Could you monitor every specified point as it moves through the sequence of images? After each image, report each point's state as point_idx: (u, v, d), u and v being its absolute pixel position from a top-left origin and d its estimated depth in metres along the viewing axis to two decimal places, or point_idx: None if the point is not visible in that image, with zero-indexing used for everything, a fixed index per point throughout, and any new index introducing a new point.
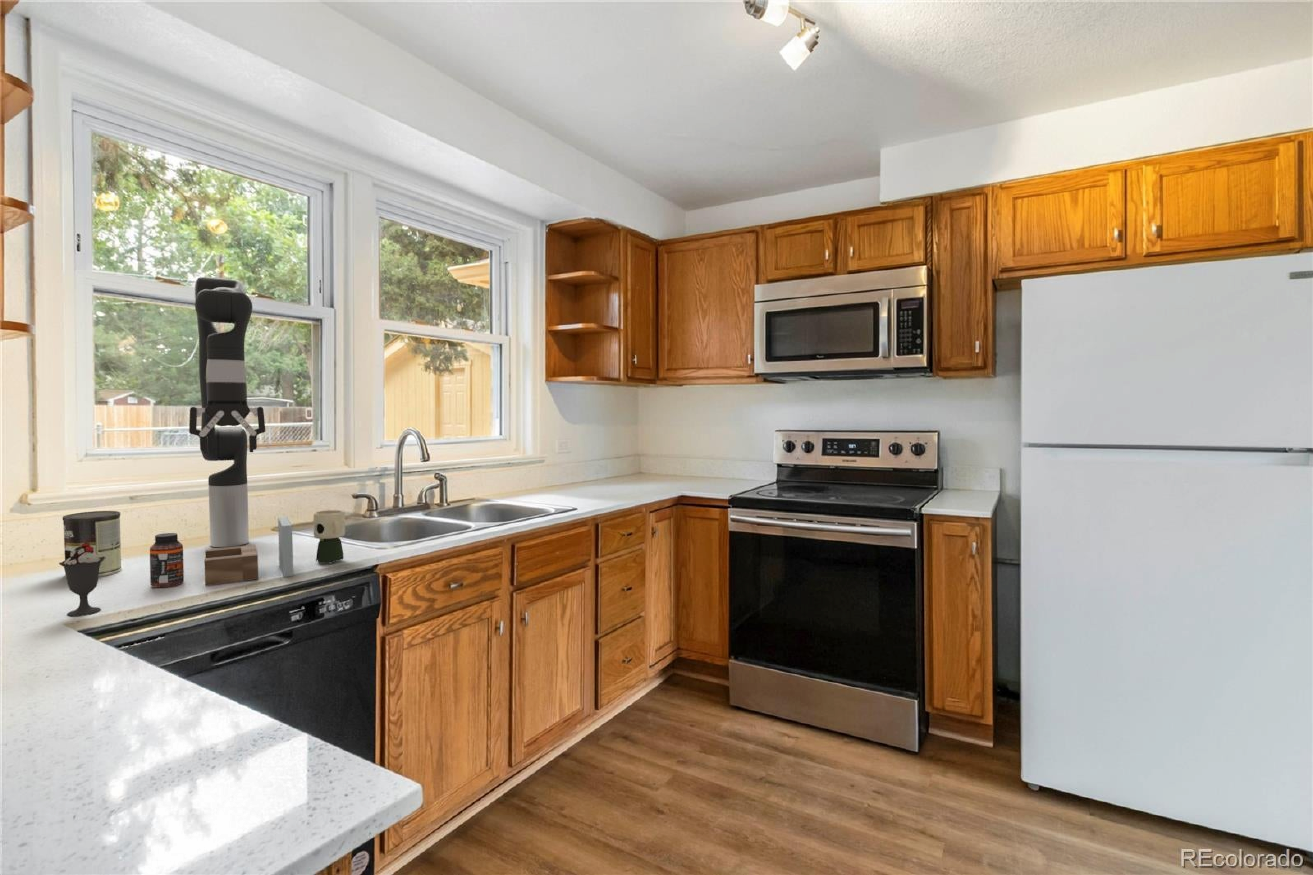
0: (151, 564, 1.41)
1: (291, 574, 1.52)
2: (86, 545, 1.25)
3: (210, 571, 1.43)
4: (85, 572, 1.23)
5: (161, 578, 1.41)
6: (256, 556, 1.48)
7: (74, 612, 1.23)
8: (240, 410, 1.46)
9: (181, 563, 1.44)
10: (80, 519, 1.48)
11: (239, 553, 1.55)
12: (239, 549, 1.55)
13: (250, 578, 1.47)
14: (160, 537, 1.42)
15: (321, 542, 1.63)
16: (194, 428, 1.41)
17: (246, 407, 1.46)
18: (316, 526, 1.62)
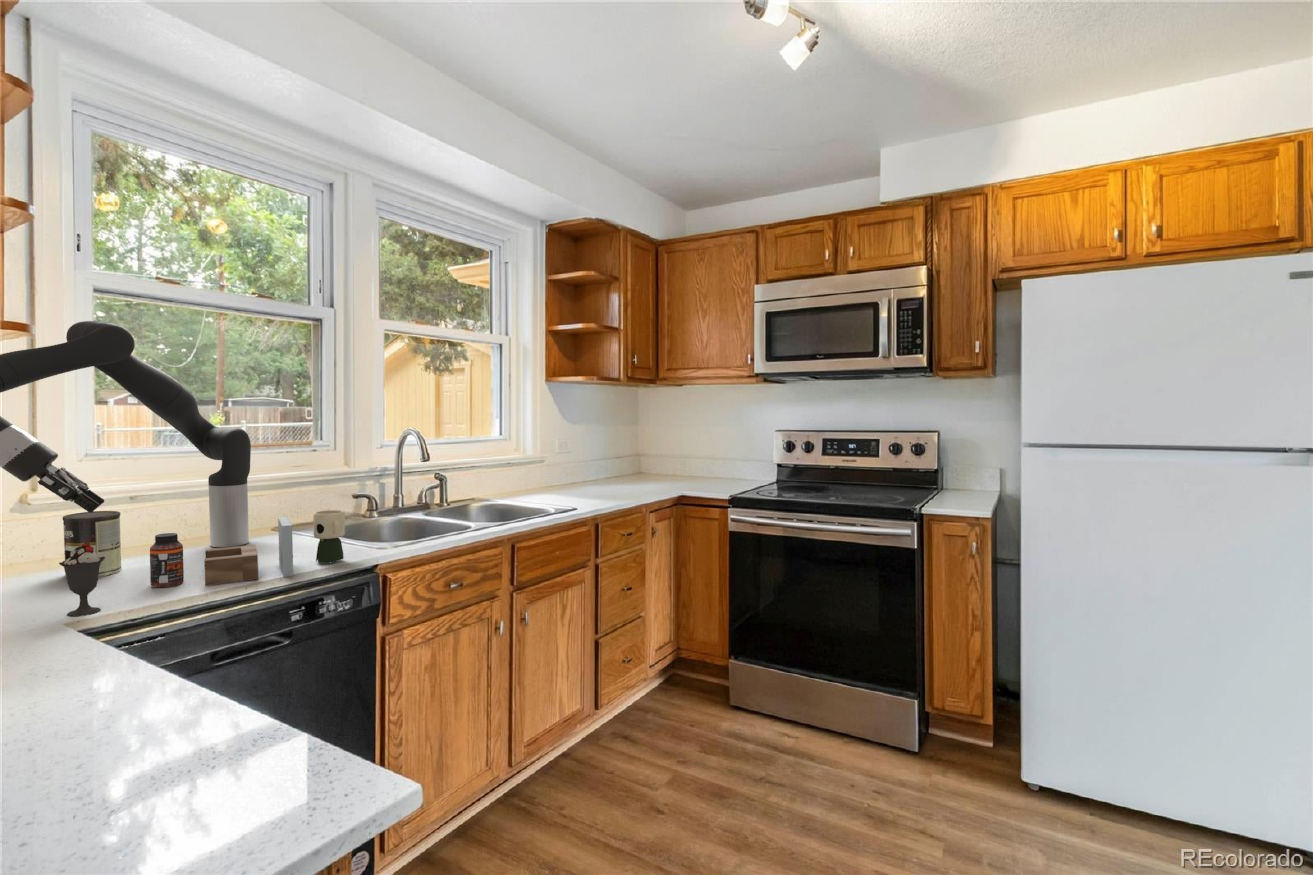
0: (151, 564, 1.41)
1: (291, 574, 1.52)
2: (86, 545, 1.24)
3: (210, 571, 1.43)
4: (85, 572, 1.23)
5: (161, 578, 1.41)
6: (256, 556, 1.48)
7: (74, 612, 1.23)
8: None
9: (181, 563, 1.44)
10: (80, 519, 1.48)
11: (239, 553, 1.55)
12: (239, 549, 1.55)
13: (250, 578, 1.47)
14: (160, 537, 1.42)
15: (321, 542, 1.63)
16: None
17: (39, 478, 1.29)
18: (316, 526, 1.62)
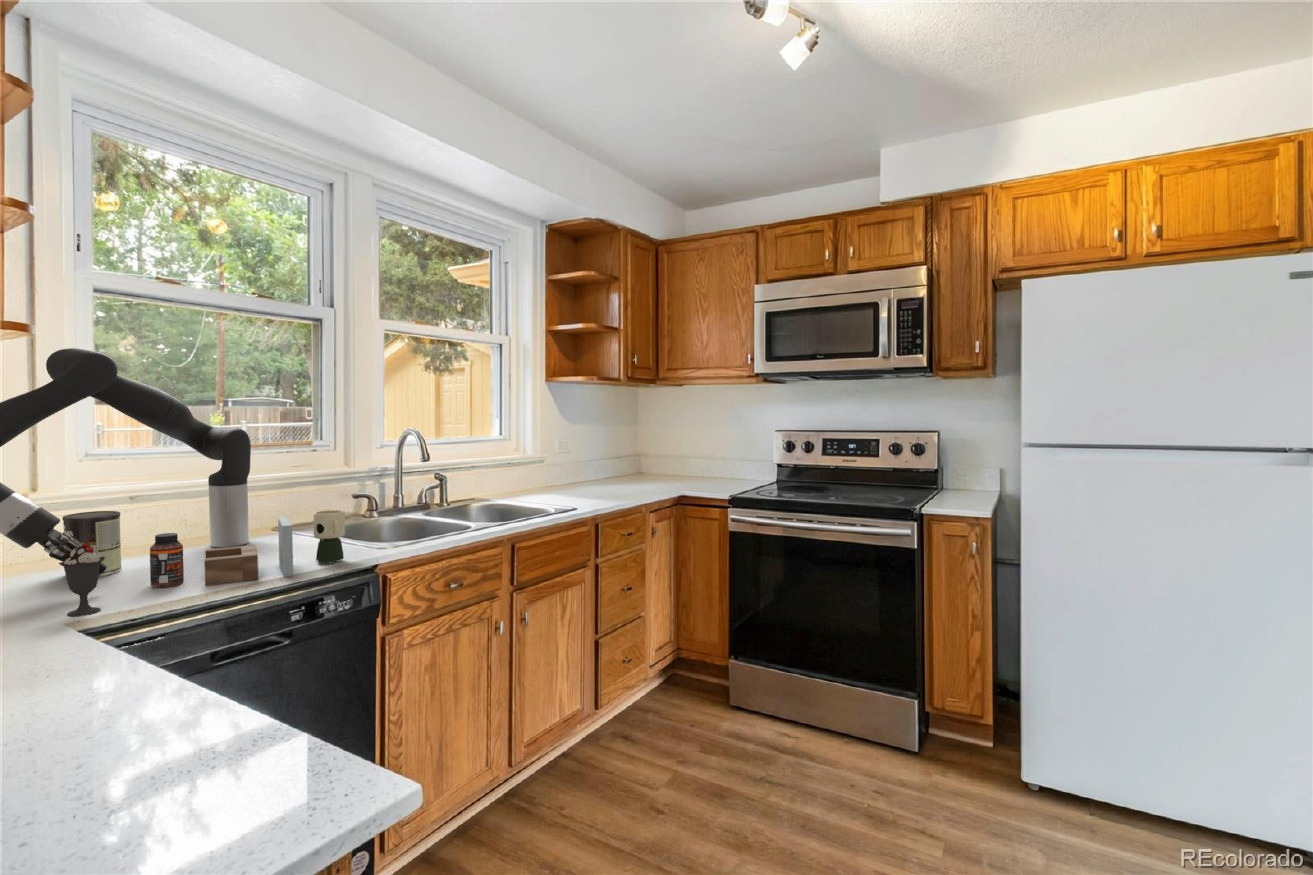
0: (151, 564, 1.41)
1: (291, 574, 1.52)
2: (86, 545, 1.24)
3: (210, 571, 1.43)
4: (85, 572, 1.23)
5: (161, 578, 1.41)
6: (256, 556, 1.48)
7: (74, 612, 1.23)
8: None
9: (181, 563, 1.44)
10: (80, 519, 1.48)
11: (239, 553, 1.55)
12: (239, 549, 1.55)
13: (250, 578, 1.47)
14: (160, 537, 1.42)
15: (321, 542, 1.63)
16: None
17: None
18: (316, 526, 1.62)
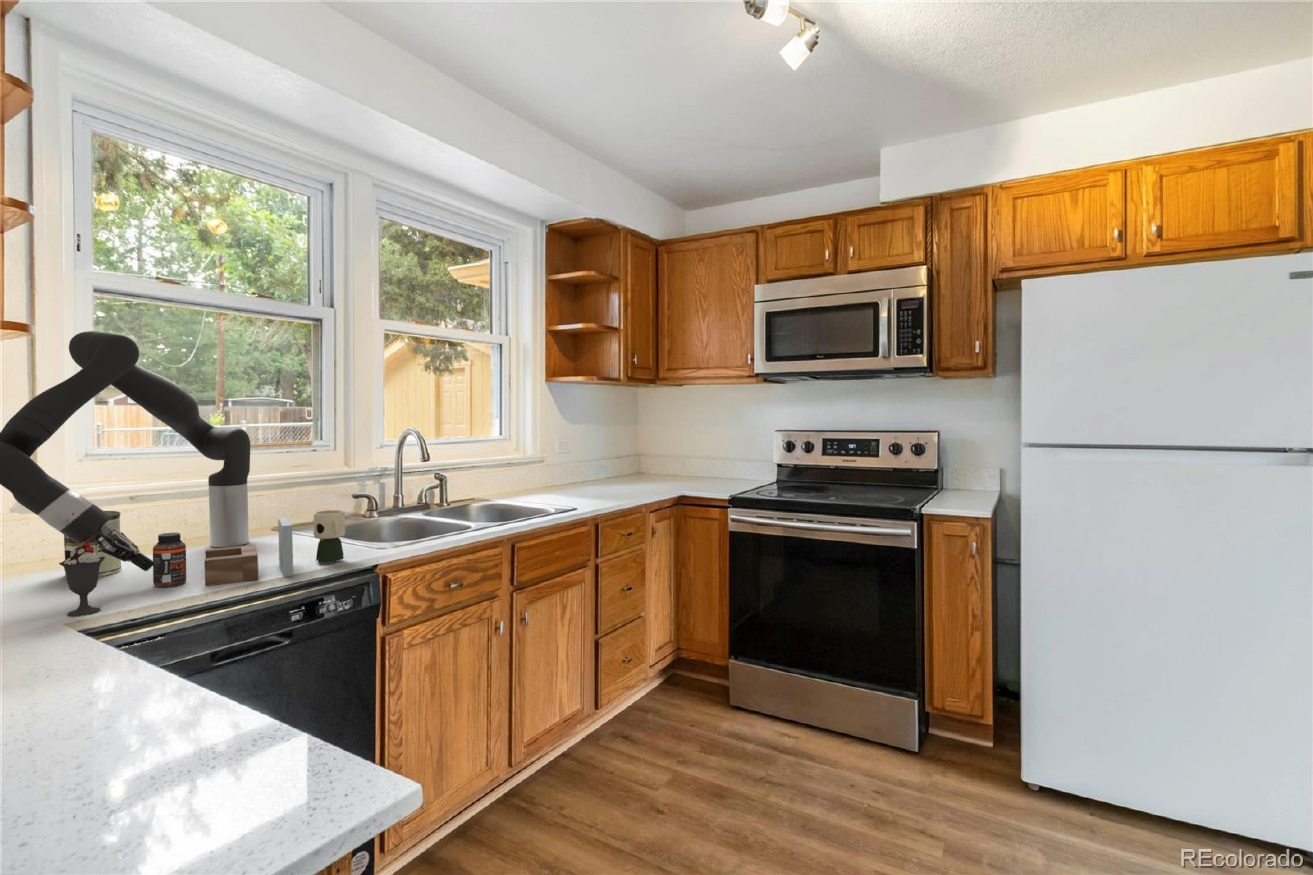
0: (154, 563, 1.41)
1: (291, 574, 1.52)
2: (86, 545, 1.25)
3: (210, 571, 1.43)
4: (85, 572, 1.23)
5: (164, 578, 1.41)
6: (256, 556, 1.48)
7: (74, 612, 1.23)
8: None
9: (184, 563, 1.45)
10: None
11: (239, 553, 1.55)
12: (239, 549, 1.55)
13: (250, 578, 1.47)
14: (163, 537, 1.42)
15: (321, 542, 1.63)
16: None
17: None
18: (316, 526, 1.62)
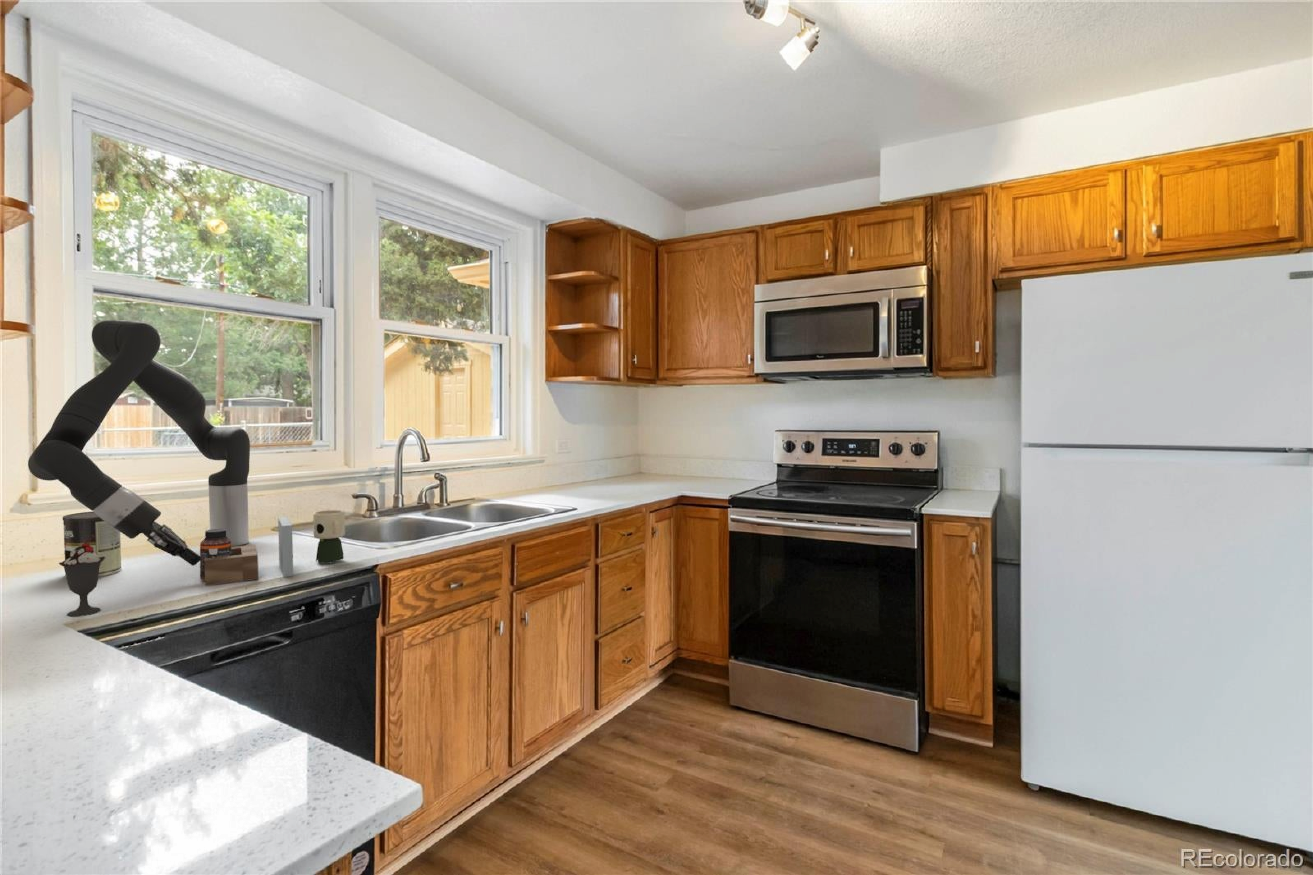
0: (202, 558, 1.46)
1: (291, 574, 1.52)
2: (86, 545, 1.25)
3: (210, 571, 1.43)
4: (85, 572, 1.23)
5: None
6: (256, 556, 1.48)
7: (74, 612, 1.23)
8: None
9: None
10: (80, 519, 1.48)
11: (239, 553, 1.55)
12: (239, 549, 1.55)
13: (250, 578, 1.47)
14: (210, 532, 1.47)
15: (321, 542, 1.63)
16: None
17: (148, 538, 1.39)
18: (316, 526, 1.62)
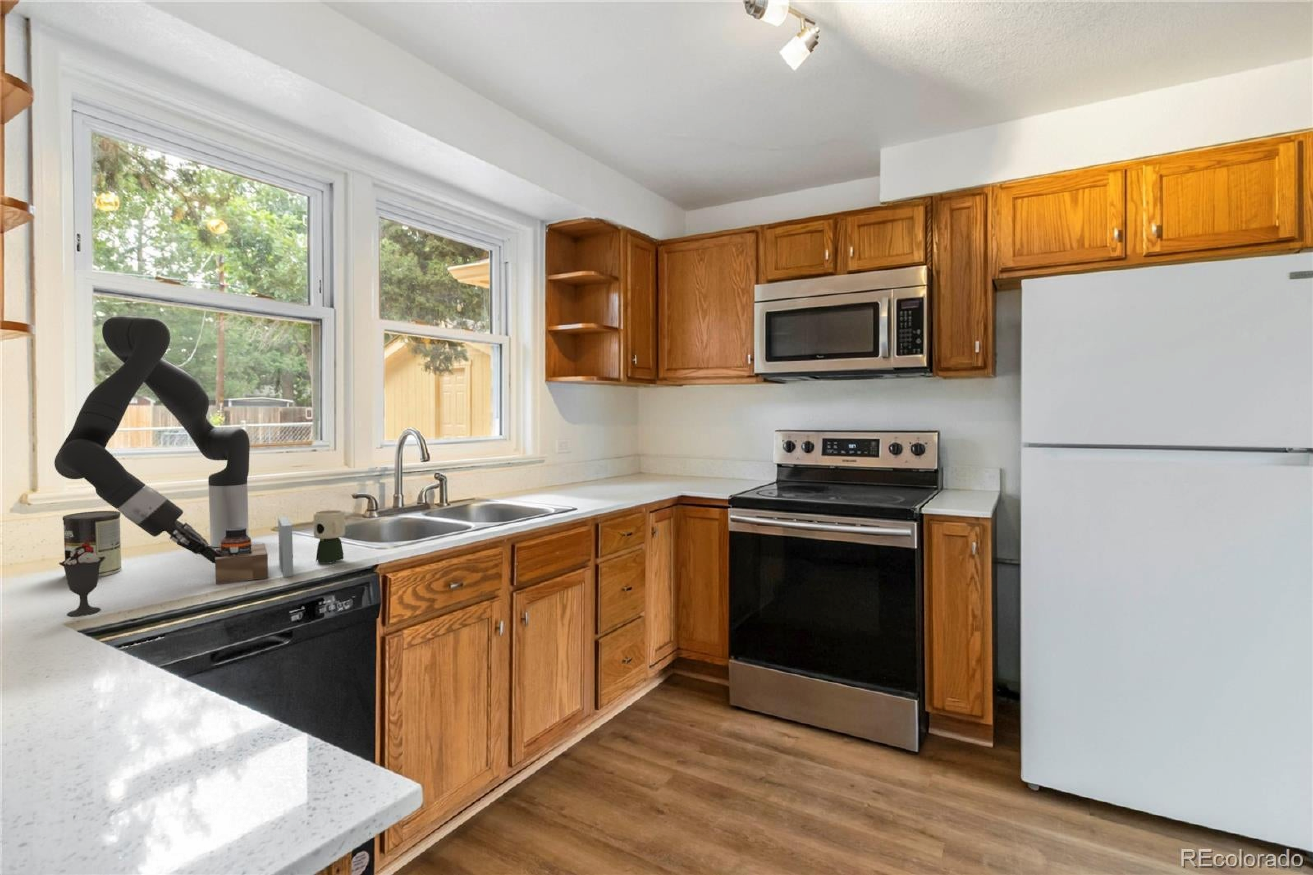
0: (223, 556, 1.48)
1: (291, 574, 1.52)
2: (86, 545, 1.25)
3: (220, 570, 1.44)
4: (85, 572, 1.23)
5: None
6: (266, 555, 1.49)
7: (74, 612, 1.23)
8: None
9: None
10: (80, 519, 1.48)
11: None
12: None
13: (260, 577, 1.48)
14: (231, 531, 1.49)
15: (321, 542, 1.63)
16: None
17: (171, 536, 1.41)
18: (316, 526, 1.62)
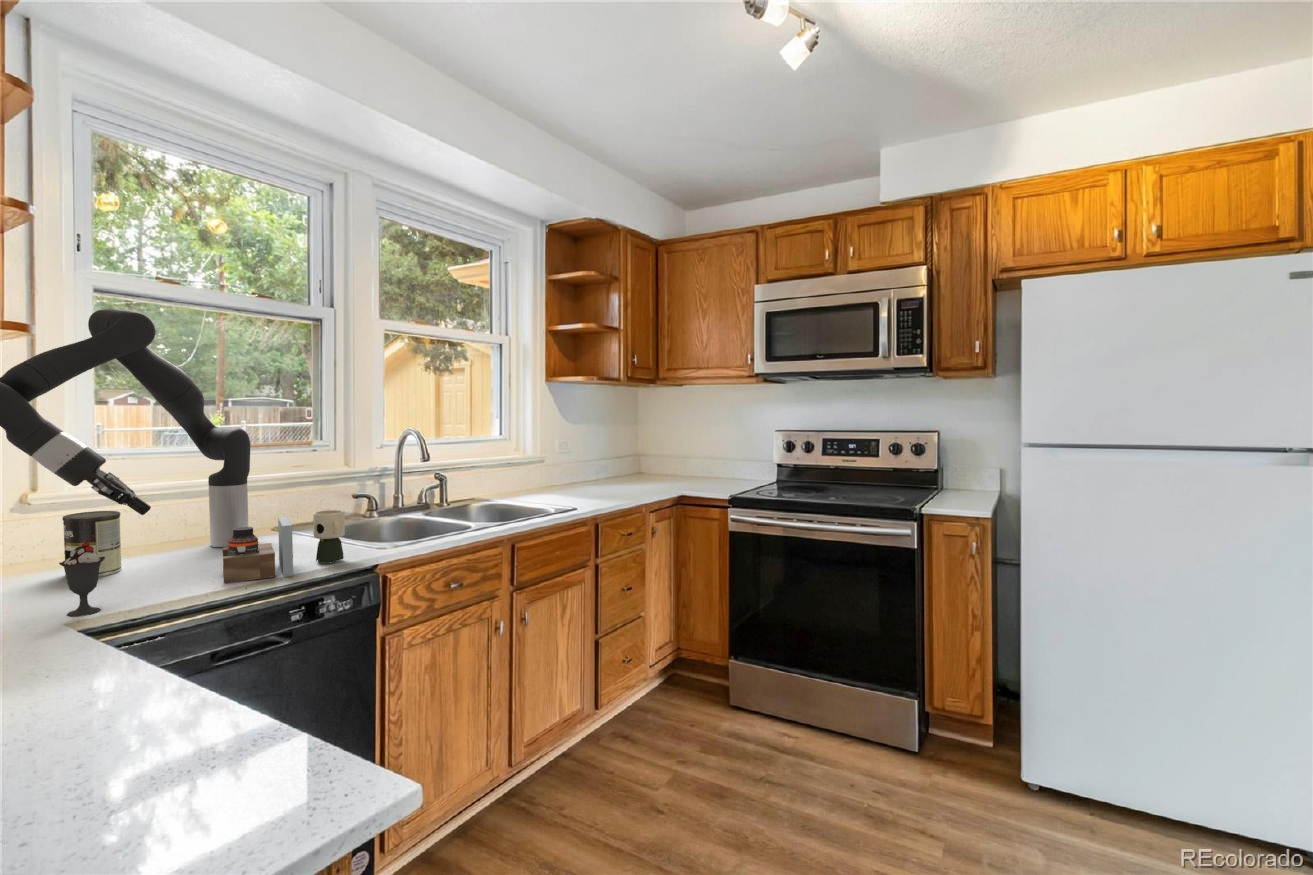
0: None
1: (291, 574, 1.52)
2: (86, 545, 1.24)
3: (228, 569, 1.45)
4: (85, 572, 1.23)
5: None
6: (273, 554, 1.50)
7: (74, 612, 1.23)
8: None
9: None
10: (80, 519, 1.48)
11: None
12: None
13: (267, 576, 1.49)
14: (238, 530, 1.49)
15: (321, 542, 1.63)
16: None
17: None
18: (316, 526, 1.62)
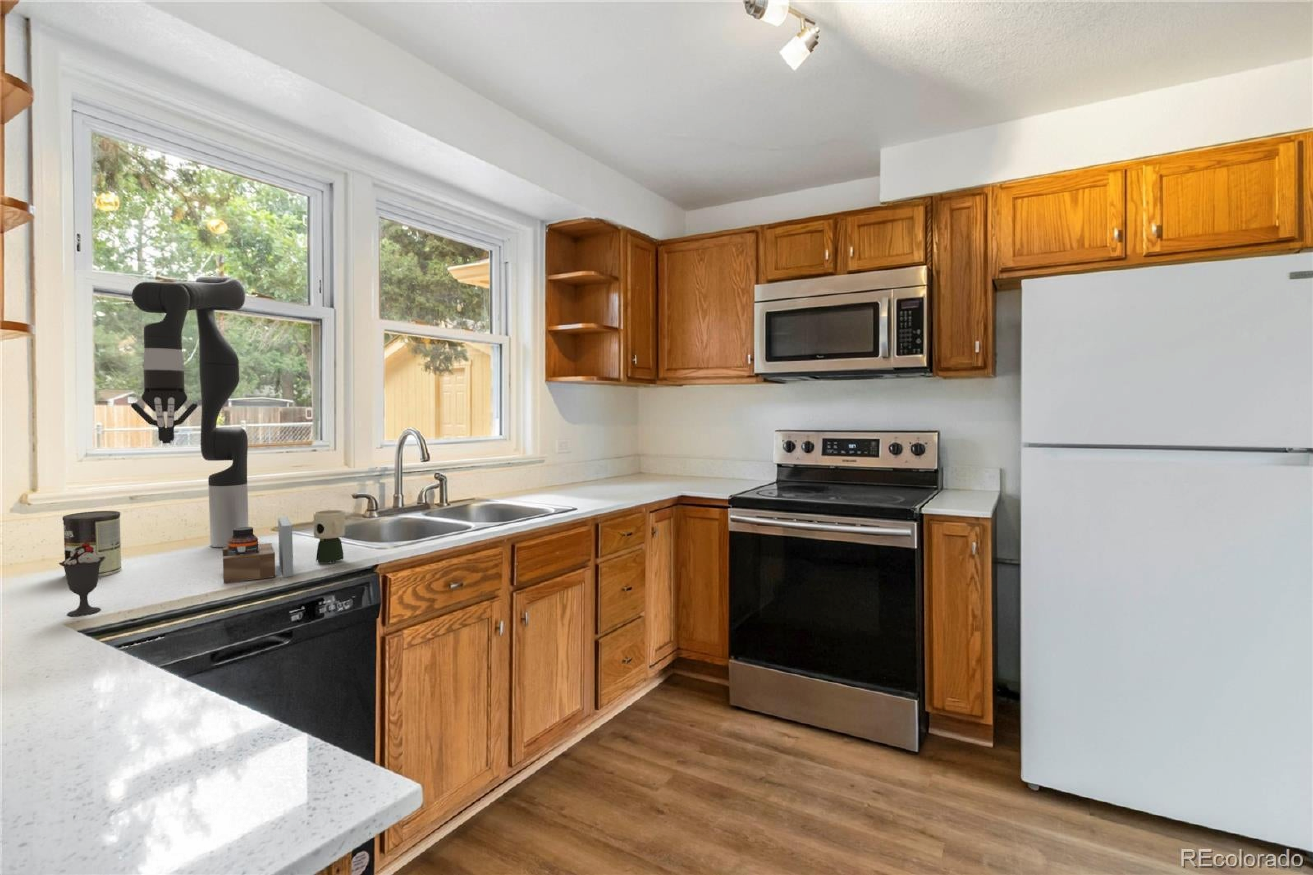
0: None
1: (291, 574, 1.52)
2: (86, 545, 1.25)
3: (228, 569, 1.45)
4: (85, 572, 1.23)
5: None
6: (273, 554, 1.50)
7: (74, 612, 1.23)
8: (178, 395, 1.51)
9: None
10: (80, 519, 1.48)
11: None
12: None
13: (267, 576, 1.49)
14: (238, 530, 1.49)
15: (321, 542, 1.63)
16: (150, 418, 1.49)
17: (185, 396, 1.52)
18: (316, 526, 1.62)
